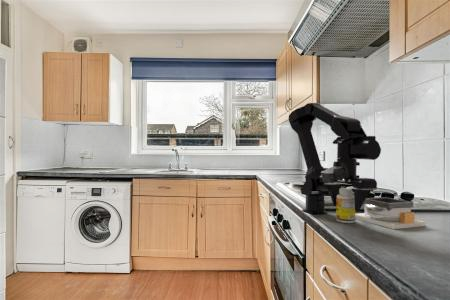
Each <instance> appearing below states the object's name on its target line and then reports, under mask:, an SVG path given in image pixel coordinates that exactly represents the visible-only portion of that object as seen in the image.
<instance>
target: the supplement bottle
mask: <svg viewBox="0 0 450 300" xmlns="http://www.w3.org/2000/svg"><path fill="white" fill-rule="evenodd" d="M351 189H352V188H350V187H349V188H346V187H341V188H340V189H339V193H340V194H338V195H337V198H336V206H335V207H336V208H335V210H336V212H335V213H336V214H335V220H336V221H337V222H339V223H344V224H352V223H355V222H356V219H355V214H356V211H355V199H354V193H353V191H352V190H351Z"/></svg>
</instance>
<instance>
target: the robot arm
mask: <svg viewBox="0 0 450 300" xmlns="http://www.w3.org/2000/svg"><path fill="white" fill-rule="evenodd" d="M316 119H318V120H320V121H321V122H323V123H325V124H326V125H328V126H329V127H330V131H332V133H334V135H336V136H337V137H336V138H335V139H334V140H332V141H333V142H332V144H333V145H337V147H336V148H337V149H336V150H337V151H336V153H337V154H336V155H337V156H336V161H334V162H333V163H332V164H333V165H332V167H329V168H328V167H324V166H323V165H322V164H321V161H320V157H319V153H318V149H317V146H316V142H315V140H314V136H313V133H312V127H313V125H314V122H315V121H316ZM288 123H289V125H290V128H291V129H292V130H293V131H294V132H295V133H296V134H297V137H298V142H299V144H300V147H301V148H300V149H301V150H302V154H303V158H304V161H305V165H306V172H305V175H304V179H305V182H304V183H303V184H302V185H301V187H300V194H301V195H303V196H305V208H303V209H301V211H303V212H306V213H307V214H311V215H319V214H328V211H327V210H325V205H326V204H325V196H330V198H331V201H332V205H333V207H336V198H337V195H338V194H340V193H339V189H340V188H342V185H344V184H345V185H351V186H352V188H350V189H351V190H352V191H353V195H354V199H355V213H356V212H358V213H359V211H360V210H361V208H362V206H363V204H364V201H365V199H366V198H368V196H369V195H370V193H371V192H374V189H377V188H378V182H377V180H376V179H375V178H369V177H360V175H359V174H358V175H357V166H358V167H359V166H360V164H361V163H360V162H359V161H358V160H367V161H368V160H369V161H374V160H377V159H379V158H380V155H381V154H382V153H381V152H382V148H381V146H380V143H379V142H378V140H376V136H375V135H367V133H366V132H365V130H364V129H363V127H362V125H361V124H362V123H361V121H360V120H359V119H357V118H354V117H349V116H345V115H344V116H343V115H340V114H338V113H336V112H335V111H332V110H331V109H329V108H327V107H325V106H323V105H322V104H320V103H319V102H317V103H316V102H308V103H306V104H305V105H303V106H300V107H298V108H296V109H294V110H292V111H291V112H290V114H289V115H288Z"/></svg>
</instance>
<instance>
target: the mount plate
mask: <svg viewBox="0 0 450 300" xmlns="http://www.w3.org/2000/svg"><path fill="white" fill-rule="evenodd" d="M356 219H357V220H360V221H363V222H366V223H371V224H374V225H377V226H380V227H381V226H382V227H385V228H388V229H392V230H398V229H399V230H400V229H407V228H408V229H409V228H418V227H425V226H426V222H425V221H423V220H419V219H415V218H414V223H407V224H404V223H400V222H385V221H378V220H373V219H370V218H367V217H365V216H364V212H362V213H361V212H360V213H359V212H358V213H355V220H356Z"/></svg>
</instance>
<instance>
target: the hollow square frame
mask: <svg viewBox="0 0 450 300" xmlns="http://www.w3.org/2000/svg"><path fill="white" fill-rule="evenodd" d="M363 204H364V212H363V213H364V216H365V217H367V218H370V219H373V220H378V221H385V222H400V223H404V224H407V223H414V219H415V212H414V211H413V212H412V208H414V202H413V201H409V200H404V199H403V200H402V199H397V198H391V197H387V196H385V197H366V199H365V201H364V203H363Z"/></svg>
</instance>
